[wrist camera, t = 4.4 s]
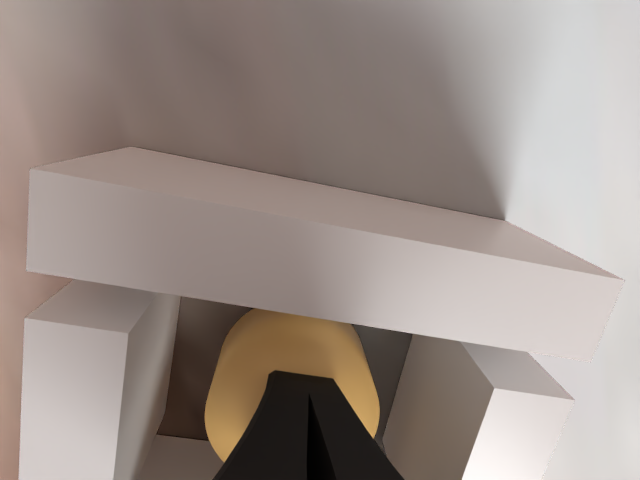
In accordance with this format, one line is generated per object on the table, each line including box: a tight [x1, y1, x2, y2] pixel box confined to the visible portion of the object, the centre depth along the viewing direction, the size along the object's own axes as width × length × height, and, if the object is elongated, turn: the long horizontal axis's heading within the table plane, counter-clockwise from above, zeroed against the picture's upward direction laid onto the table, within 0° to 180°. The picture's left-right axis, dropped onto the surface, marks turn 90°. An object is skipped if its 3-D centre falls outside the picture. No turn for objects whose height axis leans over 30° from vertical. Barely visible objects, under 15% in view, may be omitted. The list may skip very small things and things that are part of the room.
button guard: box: [19, 146, 625, 480], centre depth 10 cm, size 9×9×4 cm
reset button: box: [205, 308, 380, 463], centre depth 10 cm, size 4×4×2 cm
